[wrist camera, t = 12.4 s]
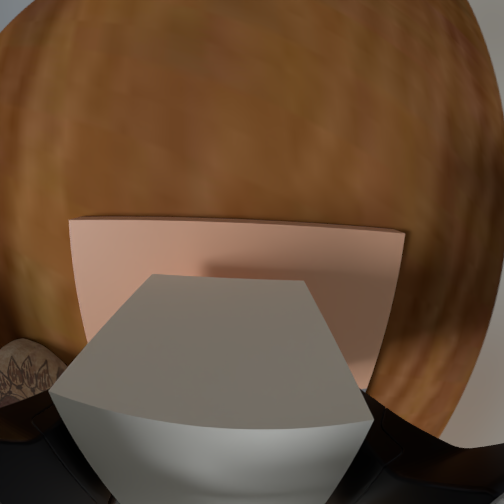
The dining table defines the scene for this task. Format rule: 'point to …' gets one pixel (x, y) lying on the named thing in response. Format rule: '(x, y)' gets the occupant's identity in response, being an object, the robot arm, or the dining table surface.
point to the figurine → (26, 370)
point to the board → (246, 268)
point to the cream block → (215, 396)
